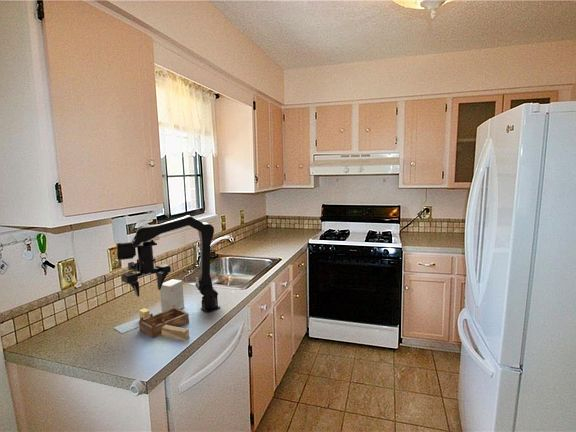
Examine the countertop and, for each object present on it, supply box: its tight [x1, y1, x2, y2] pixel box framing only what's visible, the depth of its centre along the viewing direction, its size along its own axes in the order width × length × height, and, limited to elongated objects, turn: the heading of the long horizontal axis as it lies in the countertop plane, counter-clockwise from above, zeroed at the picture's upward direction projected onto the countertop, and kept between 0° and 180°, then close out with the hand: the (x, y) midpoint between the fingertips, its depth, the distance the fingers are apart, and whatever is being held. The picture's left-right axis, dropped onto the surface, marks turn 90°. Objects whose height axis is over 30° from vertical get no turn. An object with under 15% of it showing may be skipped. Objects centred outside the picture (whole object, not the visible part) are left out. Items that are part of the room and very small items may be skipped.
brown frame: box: [138, 308, 190, 339], centre depth 134 cm, size 16×10×5 cm, turn 140°
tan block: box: [161, 325, 190, 341], centre depth 126 cm, size 2×11×4 cm, turn 69°
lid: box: [113, 307, 150, 335], centre depth 136 cm, size 14×8×5 cm, turn 140°
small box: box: [159, 279, 185, 313], centre depth 149 cm, size 8×6×13 cm
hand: (148, 293), depth 137 cm, fingers open, 9 cm apart
